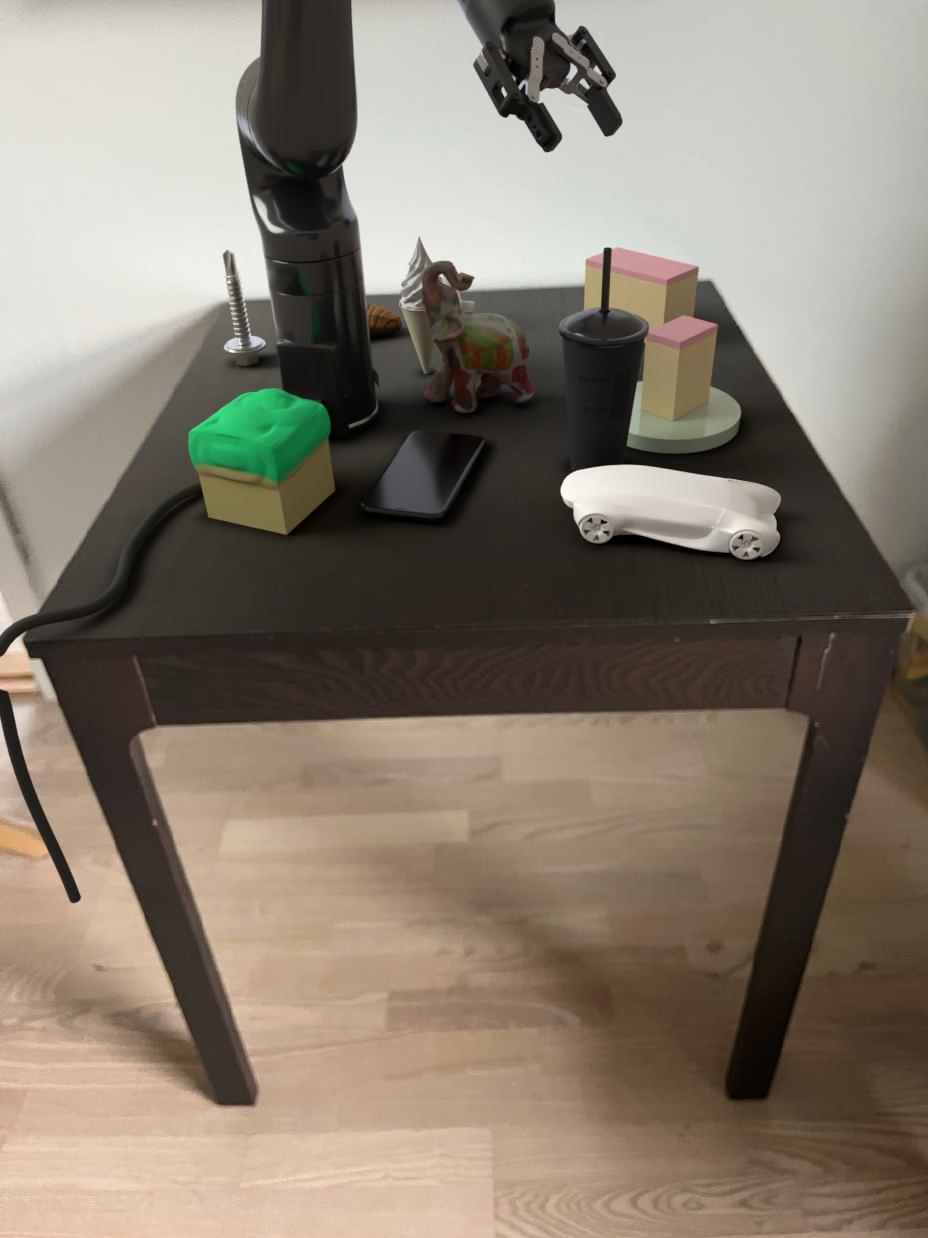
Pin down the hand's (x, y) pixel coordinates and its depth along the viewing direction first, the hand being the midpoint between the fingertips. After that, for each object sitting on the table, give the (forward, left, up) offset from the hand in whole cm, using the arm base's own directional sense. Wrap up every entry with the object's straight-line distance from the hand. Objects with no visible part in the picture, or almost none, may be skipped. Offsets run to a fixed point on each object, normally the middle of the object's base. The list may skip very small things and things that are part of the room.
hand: (585, 137), depth 91 cm
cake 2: (+18, -4, -25) cm, 31 cm away
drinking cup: (-18, -5, -25) cm, 31 cm away
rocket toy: (+14, +19, -25) cm, 34 cm away
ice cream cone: (0, +17, -25) cm, 30 cm away
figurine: (-7, +9, -25) cm, 28 cm away
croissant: (+10, +31, -25) cm, 41 cm away
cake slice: (-7, -11, -23) cm, 26 cm away
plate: (-7, -11, -25) cm, 28 cm away
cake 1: (-31, +22, -25) cm, 45 cm away
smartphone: (-24, +10, -25) cm, 36 cm away
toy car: (-27, -13, -25) cm, 39 cm away
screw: (-1, +39, -25) cm, 47 cm away
